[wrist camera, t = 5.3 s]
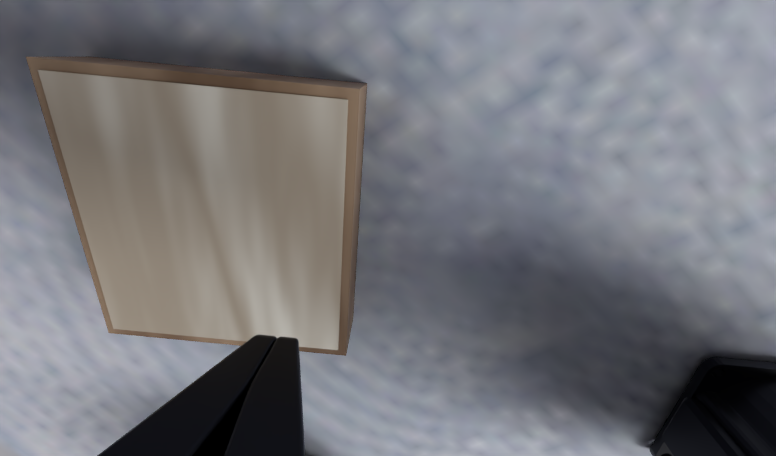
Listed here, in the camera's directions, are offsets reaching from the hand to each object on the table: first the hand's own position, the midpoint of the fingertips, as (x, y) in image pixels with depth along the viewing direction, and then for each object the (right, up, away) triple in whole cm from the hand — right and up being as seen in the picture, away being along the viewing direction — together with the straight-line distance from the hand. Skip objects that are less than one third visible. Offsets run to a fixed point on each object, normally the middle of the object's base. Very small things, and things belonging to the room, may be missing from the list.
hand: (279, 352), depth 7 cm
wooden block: (+1, +2, +6) cm, 6 cm away
